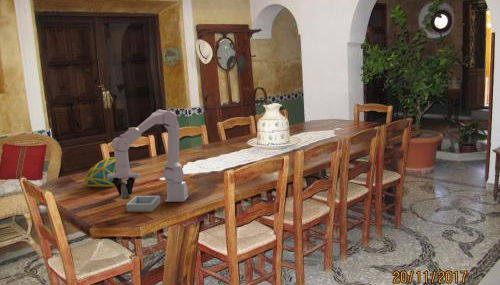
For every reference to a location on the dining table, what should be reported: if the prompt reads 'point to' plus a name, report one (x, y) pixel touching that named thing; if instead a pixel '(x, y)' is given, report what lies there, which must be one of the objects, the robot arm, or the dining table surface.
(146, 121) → the robot arm
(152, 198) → the dish
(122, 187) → the battery cell
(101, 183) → the decorative object
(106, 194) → the dining table surface
